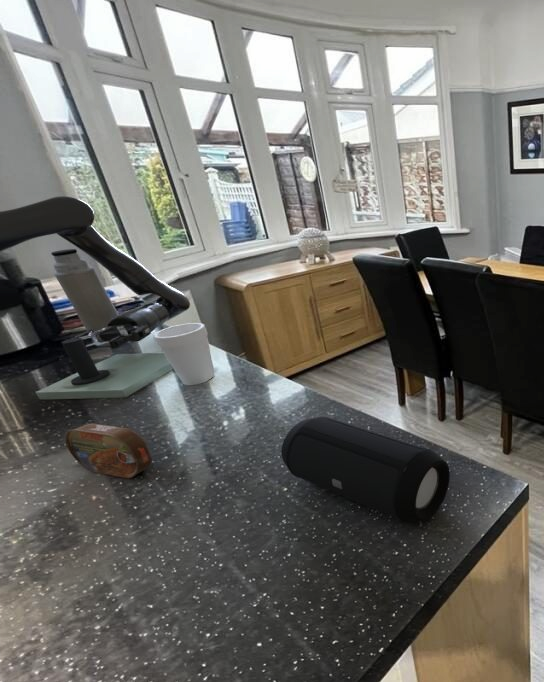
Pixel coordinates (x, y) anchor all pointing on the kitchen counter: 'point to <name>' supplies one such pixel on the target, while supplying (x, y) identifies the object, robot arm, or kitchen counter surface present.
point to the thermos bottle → (84, 290)
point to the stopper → (83, 363)
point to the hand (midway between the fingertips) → (91, 347)
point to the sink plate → (113, 378)
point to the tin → (109, 450)
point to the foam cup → (187, 351)
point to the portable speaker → (368, 467)
